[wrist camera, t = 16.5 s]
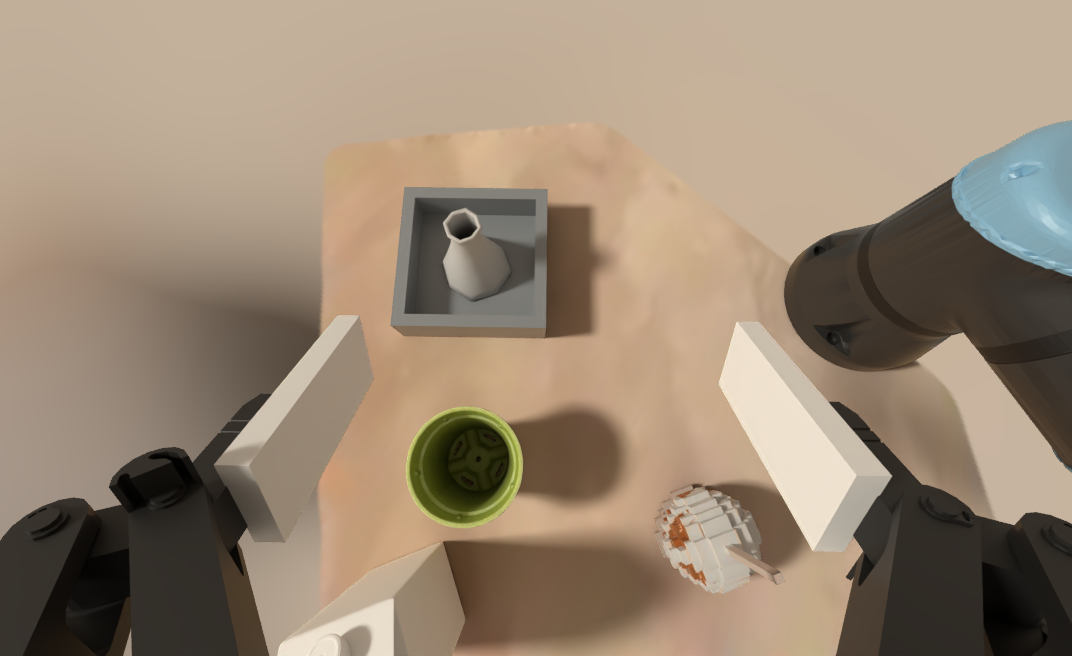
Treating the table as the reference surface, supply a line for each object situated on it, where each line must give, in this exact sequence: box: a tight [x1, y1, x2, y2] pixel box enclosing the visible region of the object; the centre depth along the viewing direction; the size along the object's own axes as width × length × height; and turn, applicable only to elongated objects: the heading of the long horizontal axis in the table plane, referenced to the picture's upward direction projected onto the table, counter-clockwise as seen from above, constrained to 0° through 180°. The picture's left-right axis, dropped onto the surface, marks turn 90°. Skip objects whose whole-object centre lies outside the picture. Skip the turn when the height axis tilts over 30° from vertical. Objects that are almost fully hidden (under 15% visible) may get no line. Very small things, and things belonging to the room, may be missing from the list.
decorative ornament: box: [654, 485, 785, 594], centre depth 34 cm, size 8×8×15 cm
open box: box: [391, 187, 548, 338], centre depth 46 cm, size 15×15×4 cm
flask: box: [442, 208, 512, 302], centre depth 42 cm, size 7×7×10 cm
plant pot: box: [406, 406, 523, 528], centre depth 39 cm, size 9×9×9 cm
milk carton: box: [278, 542, 465, 656], centre depth 31 cm, size 7×7×19 cm
